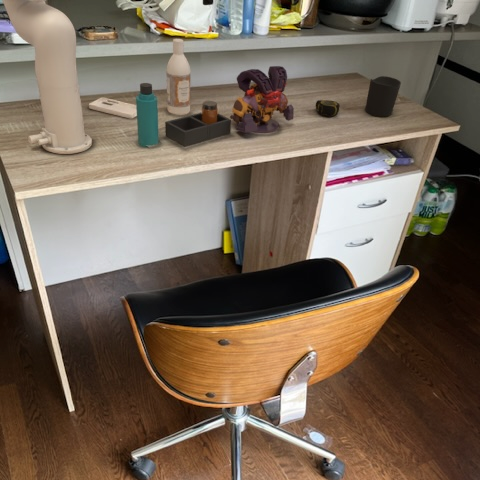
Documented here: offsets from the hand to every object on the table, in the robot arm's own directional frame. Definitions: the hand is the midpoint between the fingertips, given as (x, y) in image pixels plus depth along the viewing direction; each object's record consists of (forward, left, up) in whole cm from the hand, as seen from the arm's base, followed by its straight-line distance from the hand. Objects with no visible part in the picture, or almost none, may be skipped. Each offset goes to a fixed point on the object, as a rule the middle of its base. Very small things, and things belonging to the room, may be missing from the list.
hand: (196, 0), depth 140 cm
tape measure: (+36, -22, -30) cm, 52 cm away
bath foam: (-3, +4, -30) cm, 31 cm away
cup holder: (-10, -14, -30) cm, 34 cm away
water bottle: (-24, -10, -30) cm, 40 cm away
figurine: (+9, -19, -30) cm, 37 cm away
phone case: (-18, +15, -30) cm, 38 cm away
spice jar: (-6, -14, -30) cm, 33 cm away
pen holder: (+52, -31, -30) cm, 68 cm away
